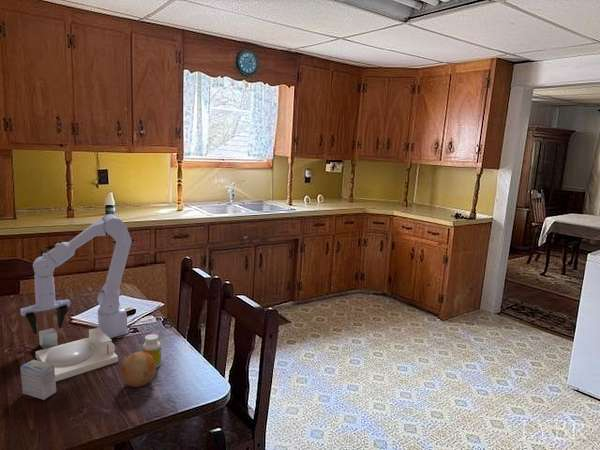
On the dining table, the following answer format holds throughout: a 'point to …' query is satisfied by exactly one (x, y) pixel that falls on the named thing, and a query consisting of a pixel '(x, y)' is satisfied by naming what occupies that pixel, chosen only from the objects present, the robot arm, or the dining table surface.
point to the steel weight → (48, 338)
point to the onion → (138, 369)
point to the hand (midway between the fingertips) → (47, 330)
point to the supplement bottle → (153, 348)
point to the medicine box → (38, 379)
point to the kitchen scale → (80, 355)
